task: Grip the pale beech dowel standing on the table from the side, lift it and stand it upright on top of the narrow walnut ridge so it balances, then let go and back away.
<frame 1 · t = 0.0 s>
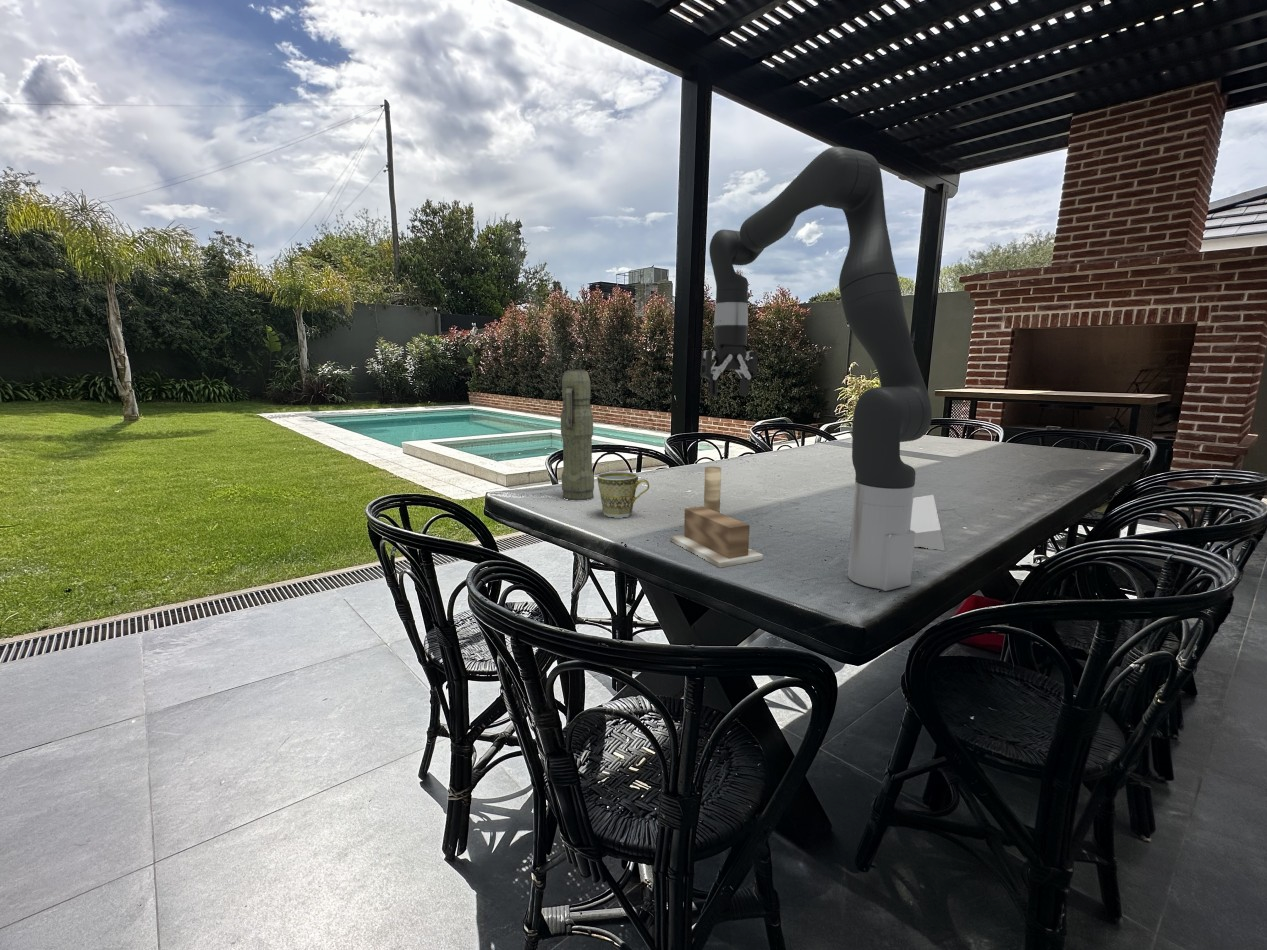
hand: (728, 396, 135), 29 cm above the table, tool pointing down, fingers open, 8 cm apart
thermos: (578, 498, 162), on the table
decorative molding: (913, 529, 134), on the table
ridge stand: (714, 549, 117), on the table
dowel: (711, 528, 132), on the table
ceramic cup: (623, 516, 143), on the table
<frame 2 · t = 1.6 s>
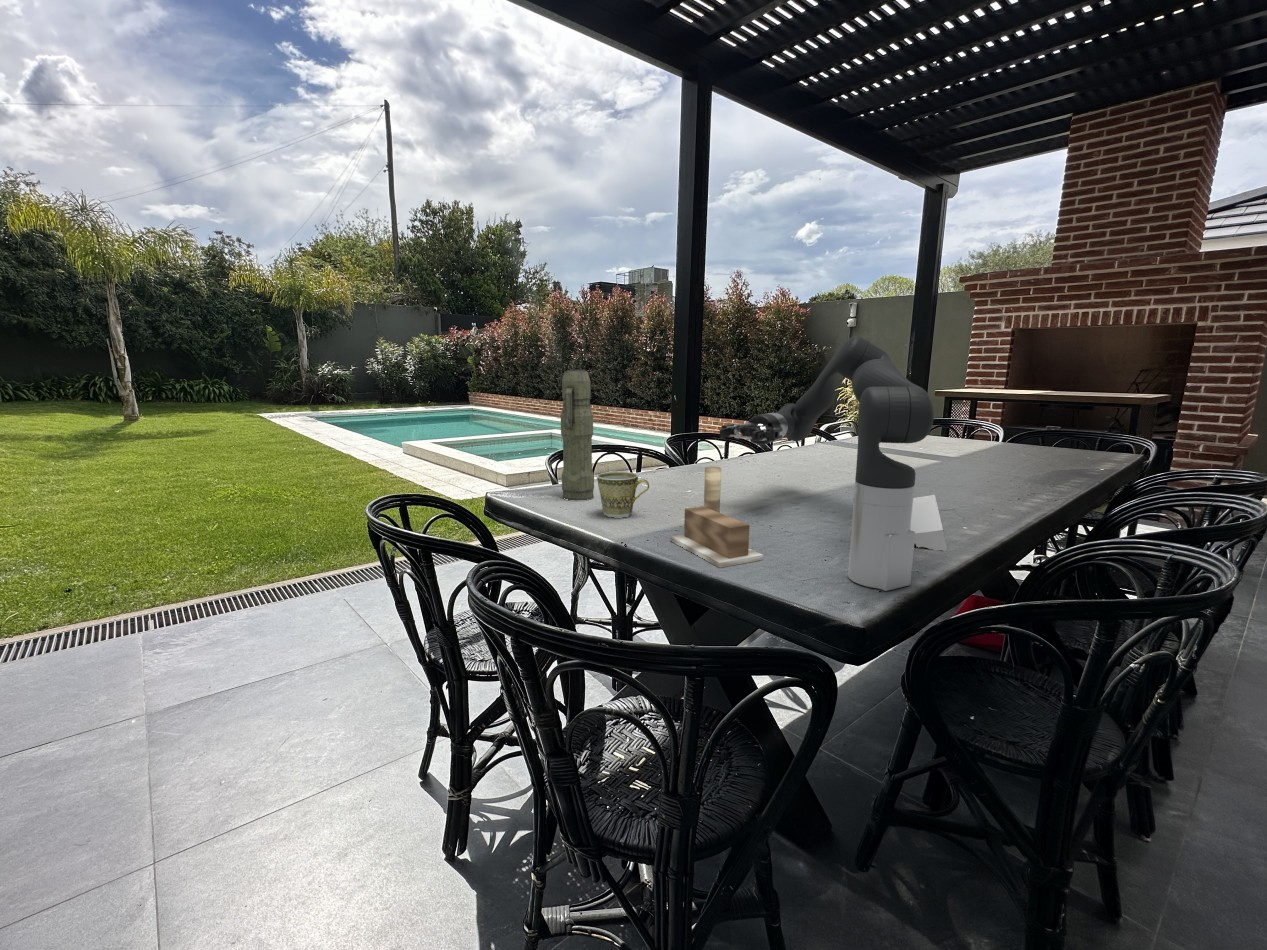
hand: (737, 435, 136), 20 cm above the table, tool horizontal, fingers open, 8 cm apart
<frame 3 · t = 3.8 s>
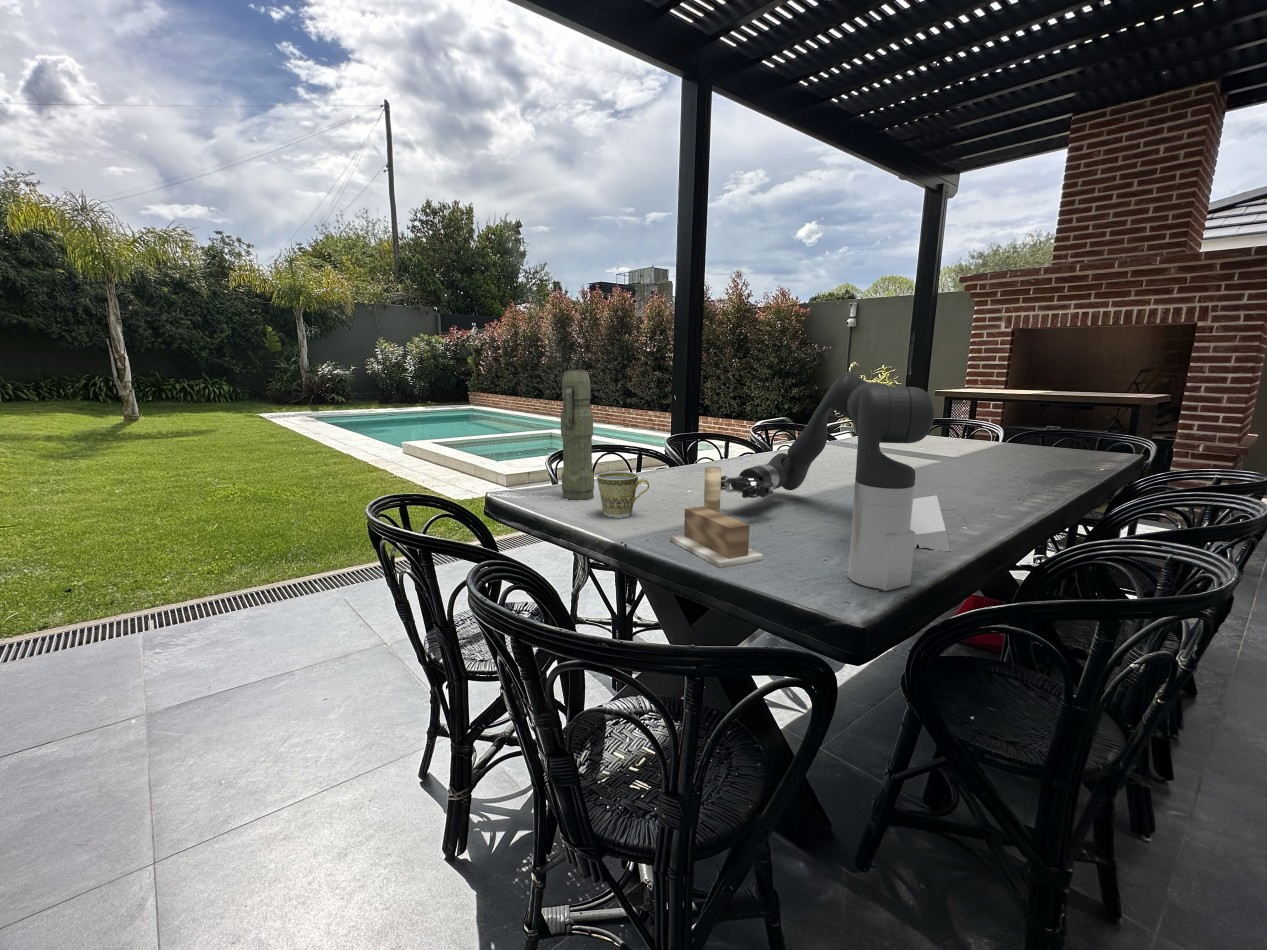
hand: (727, 491, 135), 8 cm above the table, tool horizontal, fingers open, 8 cm apart
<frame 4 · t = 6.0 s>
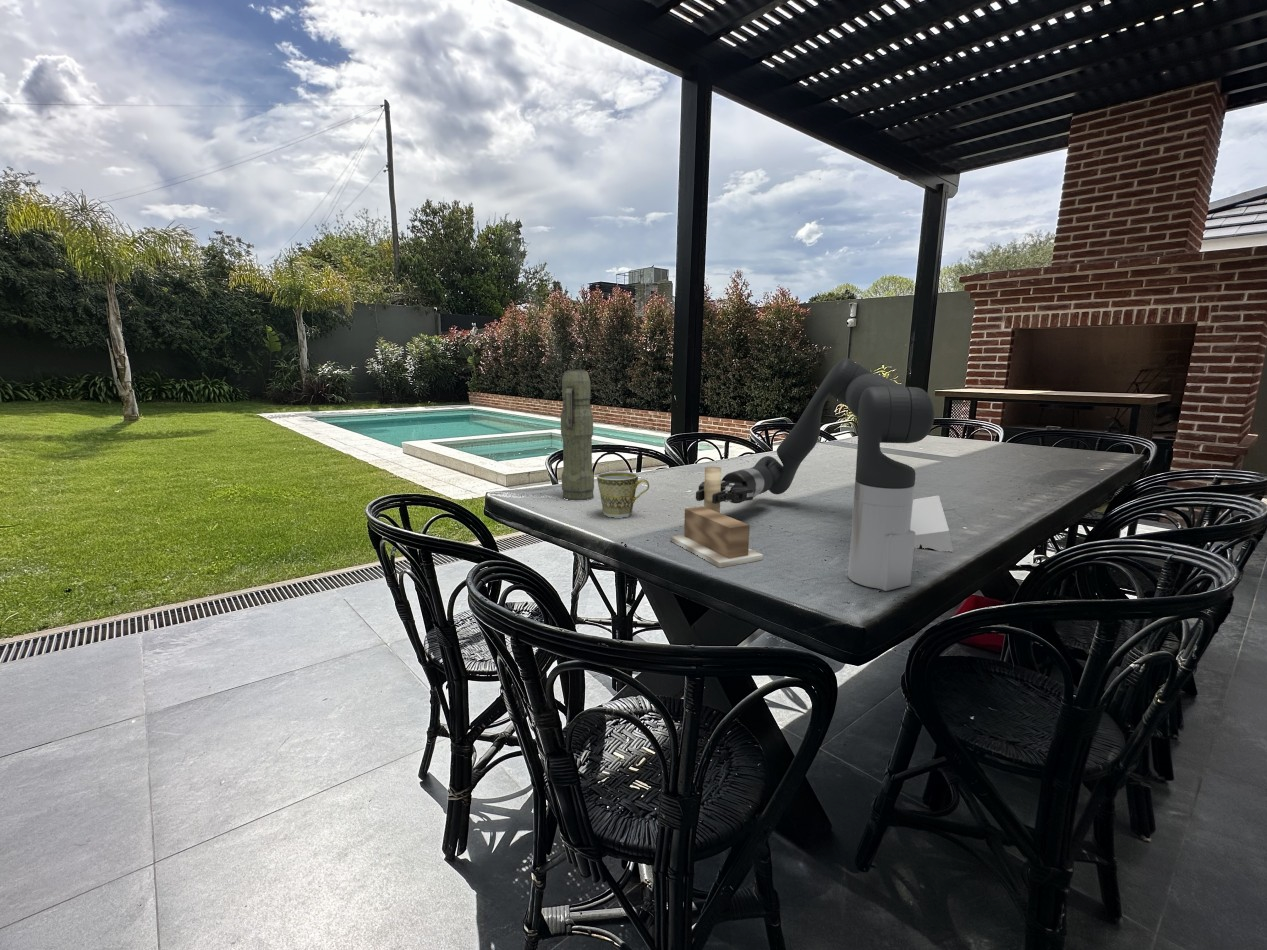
hand: (705, 497, 128), 8 cm above the table, tool horizontal, fingers closed on dowel, 3 cm apart
dowel: (711, 528, 132), on the table, touching gripper
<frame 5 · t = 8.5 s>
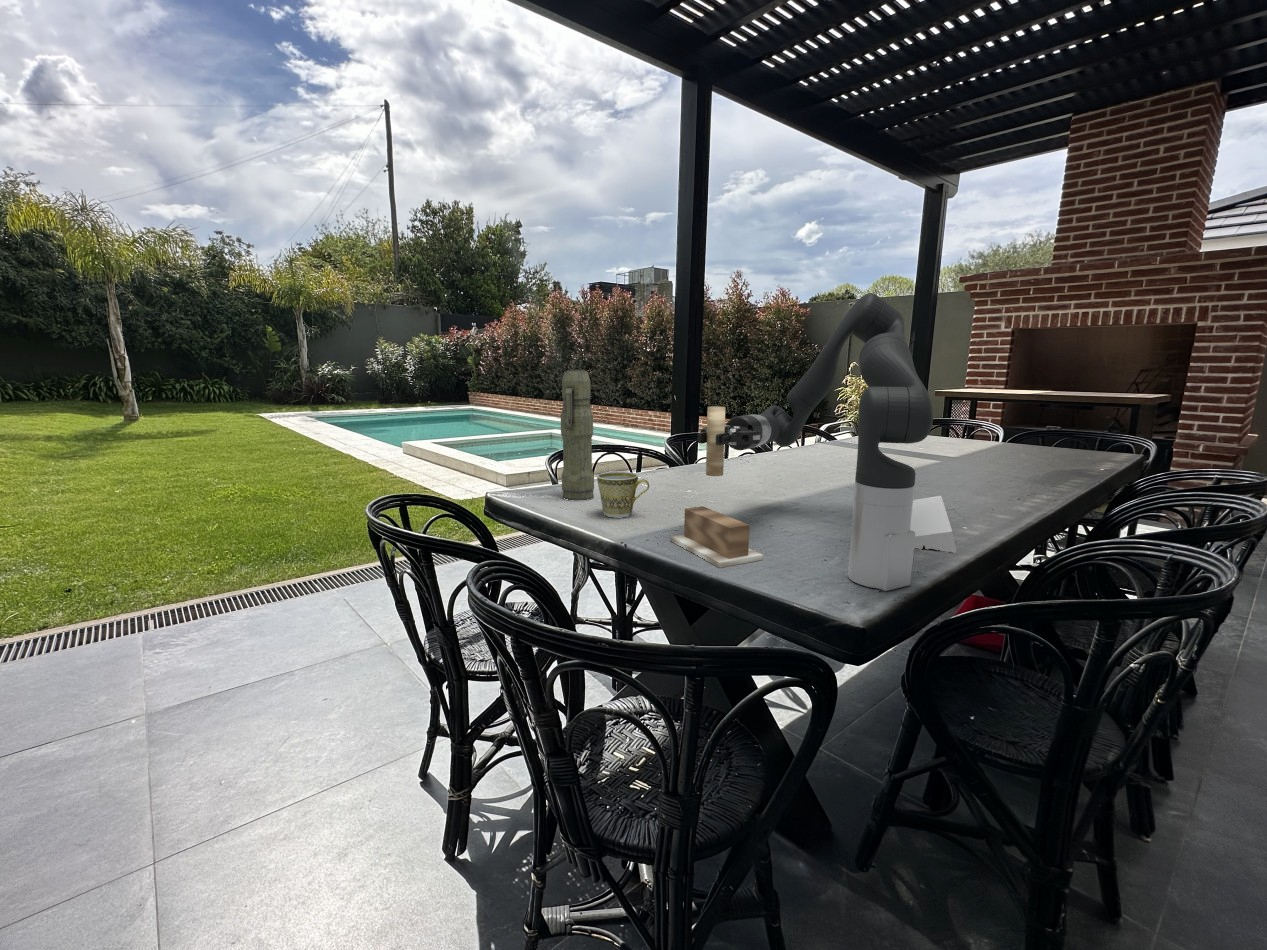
hand: (708, 439, 117), 22 cm above the table, tool horizontal, fingers closed on dowel, 3 cm apart
dowel: (714, 474, 121), point 14 cm above the table, touching gripper
when the fingers open (16 cm above the table, at t = 10.8 s): dowel drops 1 cm, resting on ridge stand.
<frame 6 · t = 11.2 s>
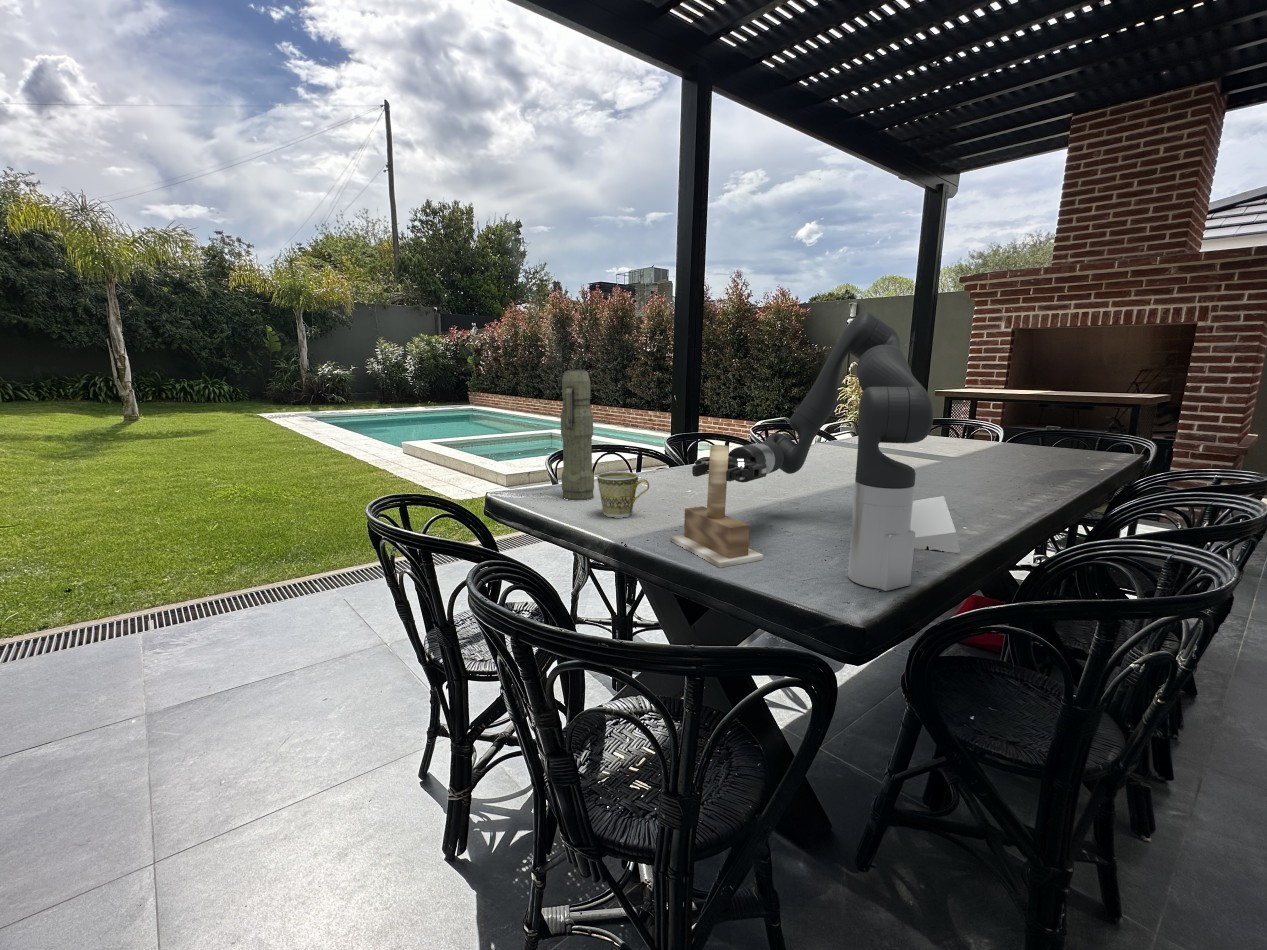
hand: (710, 473, 112), 16 cm above the table, tool horizontal, fingers open, 7 cm apart
dowel: (715, 516, 116), point 7 cm above the table, touching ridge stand
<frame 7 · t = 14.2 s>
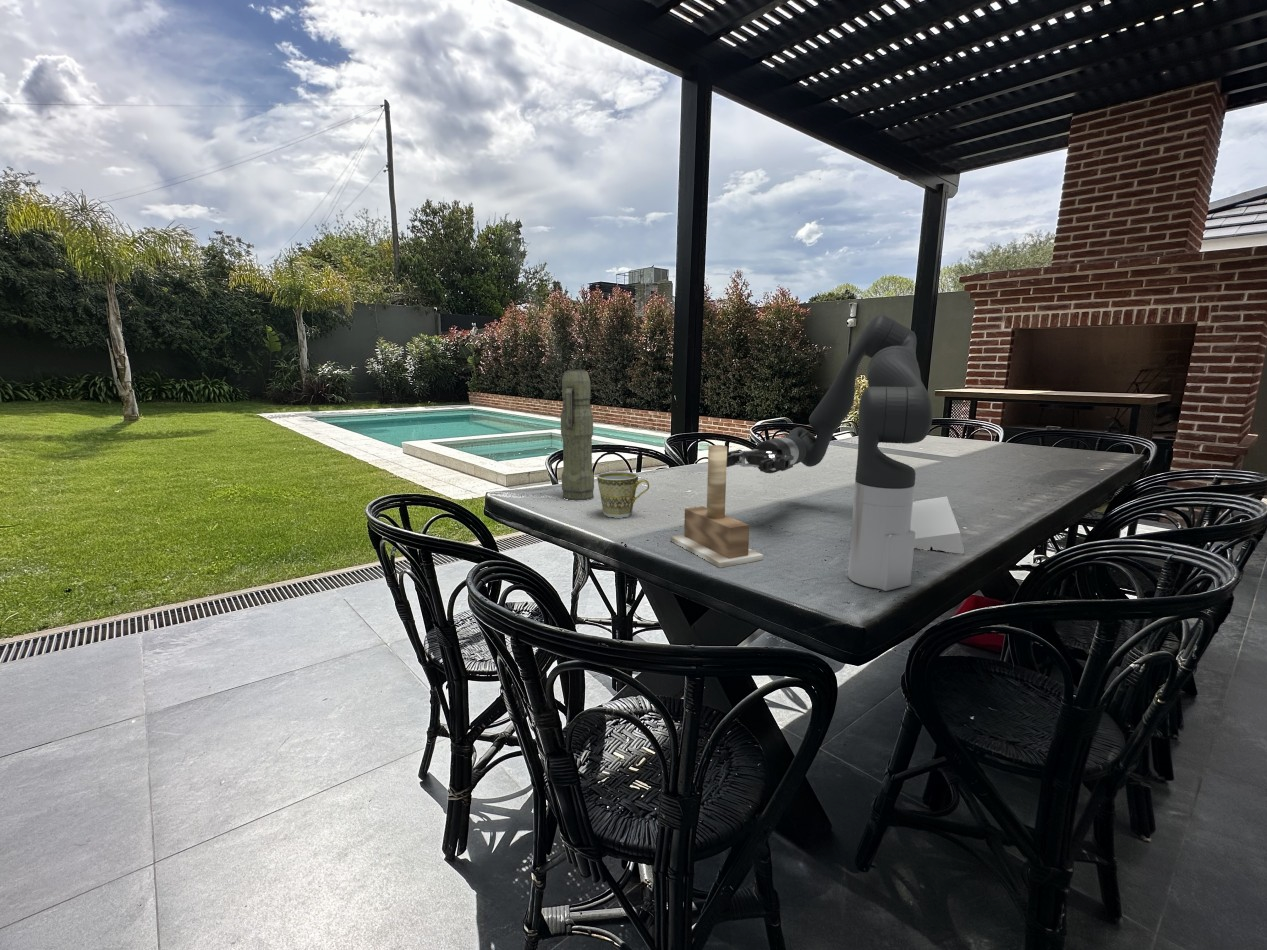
hand: (743, 464, 122), 16 cm above the table, tool horizontal, fingers open, 8 cm apart
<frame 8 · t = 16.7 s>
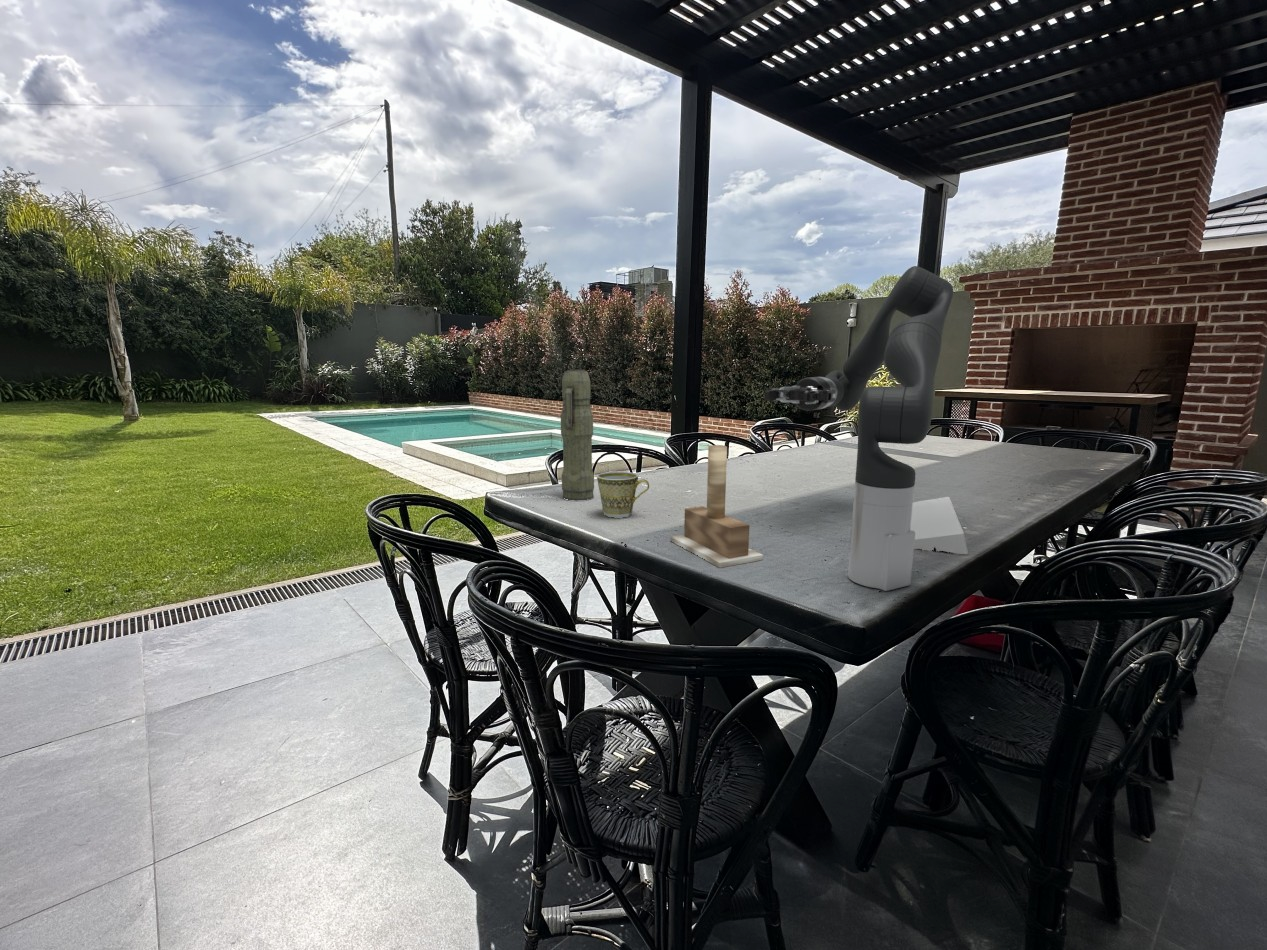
hand: (786, 396, 122), 30 cm above the table, tool horizontal, fingers open, 8 cm apart
at the end: dowel inside the target area on the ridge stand (0.1 cm from its centre), point 7.0 cm above the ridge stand's base; dowel tilted 0°; the gripper is holding nothing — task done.
